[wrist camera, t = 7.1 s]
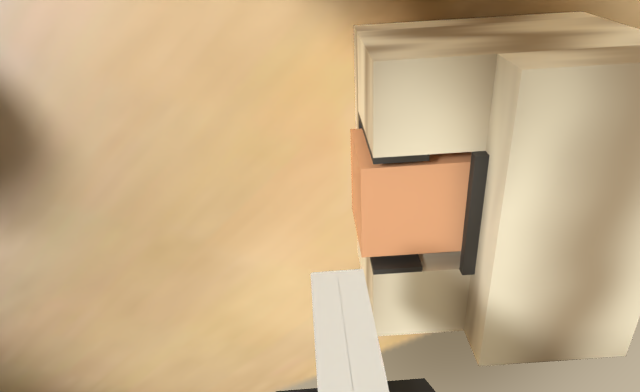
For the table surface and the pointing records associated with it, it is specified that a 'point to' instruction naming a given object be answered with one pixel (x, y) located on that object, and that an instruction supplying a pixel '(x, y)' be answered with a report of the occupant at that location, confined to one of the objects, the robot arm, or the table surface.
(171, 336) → the table surface
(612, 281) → the sleeve
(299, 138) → the table surface
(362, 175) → the peg
